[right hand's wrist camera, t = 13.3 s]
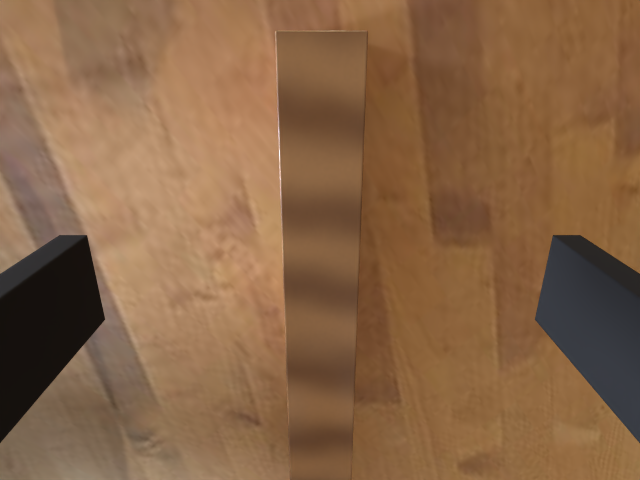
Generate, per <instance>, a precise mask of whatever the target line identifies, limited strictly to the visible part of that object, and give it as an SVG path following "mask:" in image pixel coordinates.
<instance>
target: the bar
mask: <svg viewBox="0 0 640 480" xmlns="http://www.w3.org/2000/svg"><path fill="white" fill-rule="evenodd" d="M367 44H368V31H367V30H276V31H275V45H276V75H277V104H278V134H279V164H280V194H281V224H282V254H283V284H284V314H285V344H286V374H287V404H288V434H289V463H290V480H351V472H352V446H353V419H354V392H355V365H356V338H357V312H358V285H359V258H360V231H361V205H362V178H363V151H364V124H365V97H366V71H367Z"/></svg>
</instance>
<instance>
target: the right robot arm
mask: <svg viewBox="0 0 640 480" xmlns="http://www.w3.org/2000/svg"><path fill="white" fill-rule="evenodd" d="M104 320H105V317H104V312H103V308H102V303H101V298H100V294H99V289H98V284H97V280H96V275H95V270H94V266H93V261H92V256H91V252H90V247H89V243H88V238H87V235H59V236H58V237H56V238H55V239H53V240H52V241H50V242H49V243H47V244H46V245H44V246H42V247H41V248H39V249H38V250H36V251H35V252H33V253H32V254H30V255H29V256H27V257H26V258H24V259H22V260H21V261H19V262H18V263H16V264H15V265H13V266H12V267H10V268H9V269H7V270H6V271H4V272H2V273H1V274H0V443H1V441H2V440H3V439H4V438H5V437H6V436H7V434H8V433H9V432H10V431H11V430H12V429H13V427H14V426H15V425H16V424H17V423H18V421H19V420H20V419H21V418H22V417H23V416H24V414H25V413H26V412H27V411H28V410H29V408H30V407H31V406H32V405H33V404H34V403H35V401H36V400H37V399H38V398H39V397H40V396H41V394H42V393H43V392H44V391H45V390H46V388H47V387H48V386H49V385H50V384H51V383H52V381H53V380H54V379H55V378H56V377H57V375H58V374H59V373H60V372H61V371H62V370H63V368H64V367H65V366H66V365H67V364H68V363H69V361H70V360H71V359H72V358H73V357H74V355H75V354H76V353H77V352H78V351H79V350H80V348H81V347H82V346H83V345H84V344H85V342H86V341H87V340H88V339H89V338H90V337H91V335H92V334H93V333H94V332H95V331H96V330H97V328H98V327H99V326H100V325H101V324H102V322H103V321H104ZM535 320H536V321H537V322H538V324H539V325H540V326H541V327H542V328H543V330H544V331H545V332H546V333H547V334H548V335H549V337H550V338H551V339H552V340H553V341H554V342H555V344H556V345H557V346H558V347H559V348H560V350H561V351H562V352H563V353H564V354H565V355H566V357H567V358H568V359H569V360H570V361H571V363H572V364H573V365H574V366H575V367H576V368H577V370H578V371H579V372H580V373H581V374H582V375H583V377H584V378H585V379H586V380H587V381H588V383H589V384H590V385H591V386H592V387H593V388H594V390H595V391H596V392H597V393H598V394H599V396H600V397H601V398H602V399H603V400H604V401H605V403H606V404H607V405H608V406H609V407H610V408H611V410H612V411H613V412H614V413H615V414H616V416H617V417H618V418H619V419H620V420H621V421H622V423H623V424H624V425H625V426H626V427H627V429H628V430H629V431H630V432H631V433H632V434H633V436H634V437H635V438H636V439H637V440H638V441H639V443H640V274H639V273H638V272H636V271H634V270H633V269H631V268H630V267H628V266H627V265H625V264H624V263H622V262H621V261H619V260H618V259H616V258H614V257H613V256H611V255H610V254H608V253H607V252H605V251H604V250H602V249H601V248H599V247H598V246H596V245H594V244H593V243H591V242H590V241H588V240H587V239H585V238H584V237H582V236H581V235H553V238H552V243H551V247H550V252H549V256H548V261H547V266H546V270H545V275H544V280H543V284H542V289H541V294H540V298H539V303H538V308H537V312H536V317H535Z"/></svg>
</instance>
